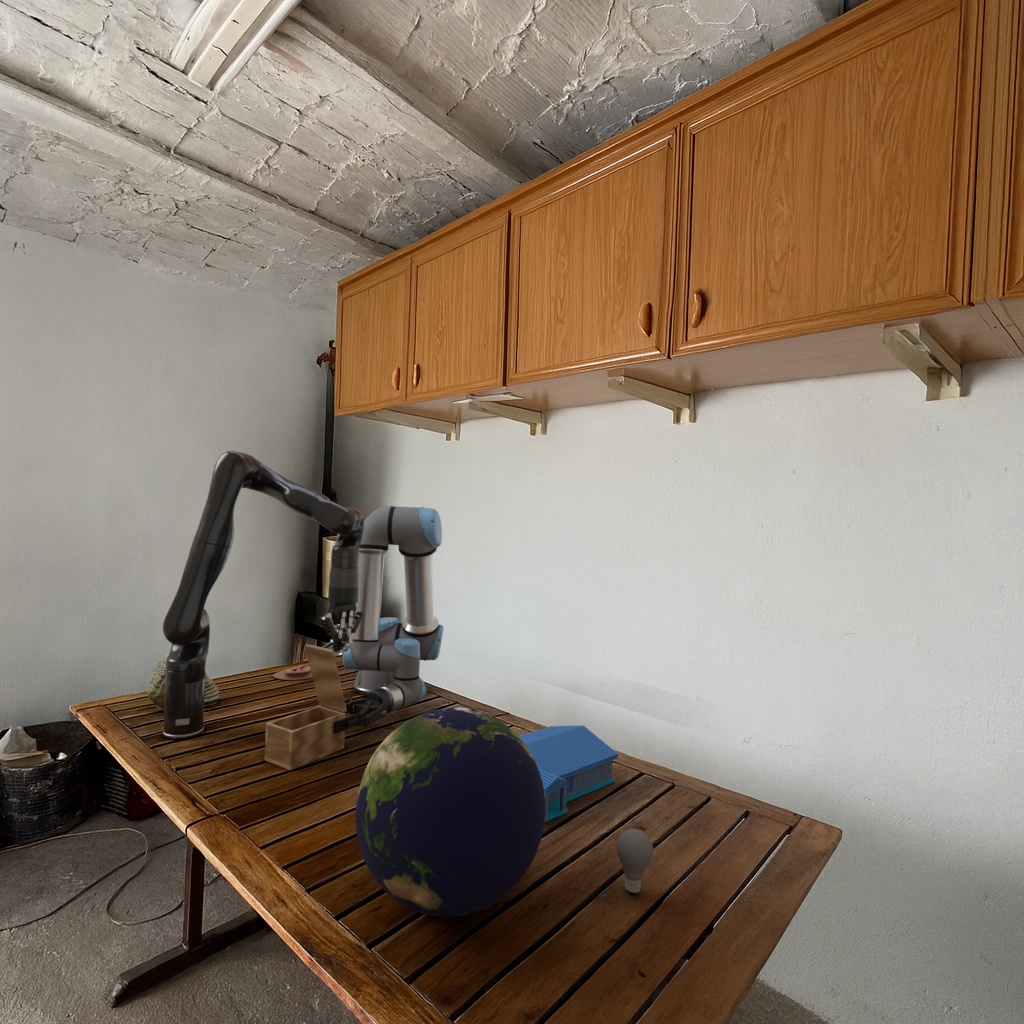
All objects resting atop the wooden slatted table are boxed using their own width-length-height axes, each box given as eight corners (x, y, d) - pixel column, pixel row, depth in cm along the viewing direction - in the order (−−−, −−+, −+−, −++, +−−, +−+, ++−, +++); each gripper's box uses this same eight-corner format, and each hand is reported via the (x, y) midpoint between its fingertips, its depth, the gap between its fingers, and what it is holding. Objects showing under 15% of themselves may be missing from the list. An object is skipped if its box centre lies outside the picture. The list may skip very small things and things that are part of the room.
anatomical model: (267, 666, 215) (286, 658, 227) (267, 678, 215) (286, 669, 227) (303, 670, 213) (320, 662, 224) (303, 682, 213) (320, 673, 224)
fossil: (144, 707, 182) (145, 655, 182) (212, 696, 194) (213, 647, 194) (151, 716, 175) (153, 662, 175) (221, 703, 188) (223, 653, 188)
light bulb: (610, 879, 108) (613, 822, 108) (644, 879, 109) (647, 822, 109) (619, 902, 102) (622, 840, 102) (655, 901, 103) (658, 840, 103)
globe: (309, 928, 93) (317, 725, 93) (415, 832, 121) (421, 676, 120) (495, 996, 82) (506, 766, 81) (565, 873, 110) (572, 701, 109)
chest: (290, 770, 146) (292, 732, 146) (264, 760, 151) (265, 723, 150) (344, 748, 160) (345, 713, 160) (318, 739, 165) (320, 705, 164)
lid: (330, 651, 154) (354, 636, 161) (304, 645, 159) (328, 630, 166) (344, 712, 159) (366, 695, 166) (319, 704, 164) (341, 688, 171)
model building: (497, 843, 118) (499, 790, 118) (422, 794, 136) (424, 748, 136) (626, 786, 145) (628, 743, 144) (549, 751, 163) (551, 713, 163)
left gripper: (333, 588, 155) (330, 658, 156) (373, 583, 167) (370, 649, 167) (312, 585, 159) (309, 653, 160) (352, 580, 171) (349, 644, 171)
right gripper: (412, 723, 172) (351, 748, 153) (354, 706, 184) (290, 728, 165) (413, 695, 172) (352, 718, 153) (355, 680, 184) (291, 699, 164)
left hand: (340, 651), depth 163 cm, fingers closed
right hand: (320, 723), depth 159 cm, fingers closed on chest, 9 cm apart
